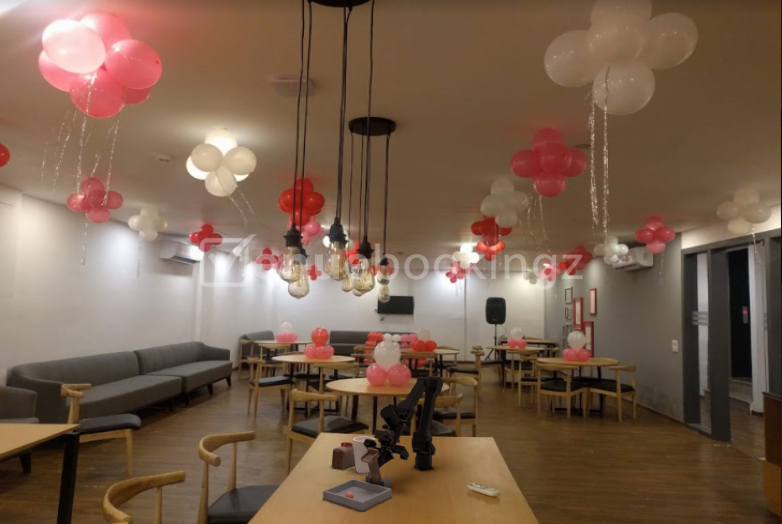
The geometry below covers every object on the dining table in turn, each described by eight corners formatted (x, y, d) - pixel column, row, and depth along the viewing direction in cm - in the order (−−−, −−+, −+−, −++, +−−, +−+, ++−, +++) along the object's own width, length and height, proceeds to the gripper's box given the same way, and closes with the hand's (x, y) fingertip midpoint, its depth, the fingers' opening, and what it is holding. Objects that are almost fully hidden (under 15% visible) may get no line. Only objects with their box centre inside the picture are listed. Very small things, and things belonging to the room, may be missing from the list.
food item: (346, 459, 238) (347, 437, 238) (362, 462, 234) (362, 439, 235) (329, 468, 225) (330, 444, 226) (345, 471, 222) (346, 447, 222)
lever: (375, 482, 204) (368, 447, 201) (385, 485, 201) (378, 449, 198) (368, 490, 200) (359, 455, 197) (378, 493, 197) (370, 457, 194)
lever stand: (371, 485, 205) (372, 473, 206) (390, 490, 200) (390, 478, 200) (365, 488, 202) (365, 476, 202) (384, 493, 197) (384, 481, 197)
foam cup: (371, 475, 217) (372, 442, 218) (349, 473, 219) (350, 441, 220) (376, 468, 226) (377, 437, 227) (355, 466, 228) (356, 435, 229)
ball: (345, 490, 187) (343, 499, 186) (353, 492, 187) (351, 501, 185) (347, 490, 190) (345, 499, 189) (355, 492, 189) (353, 501, 188)
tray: (353, 486, 203) (353, 478, 203) (391, 497, 193) (391, 489, 193) (322, 499, 189) (323, 490, 190) (362, 512, 179) (362, 502, 179)
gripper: (366, 417, 212) (348, 451, 202) (405, 424, 201) (387, 461, 191) (377, 434, 217) (360, 468, 208) (416, 442, 207) (399, 478, 197)
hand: (376, 468), depth 201 cm, fingers closed, pressing on lever
